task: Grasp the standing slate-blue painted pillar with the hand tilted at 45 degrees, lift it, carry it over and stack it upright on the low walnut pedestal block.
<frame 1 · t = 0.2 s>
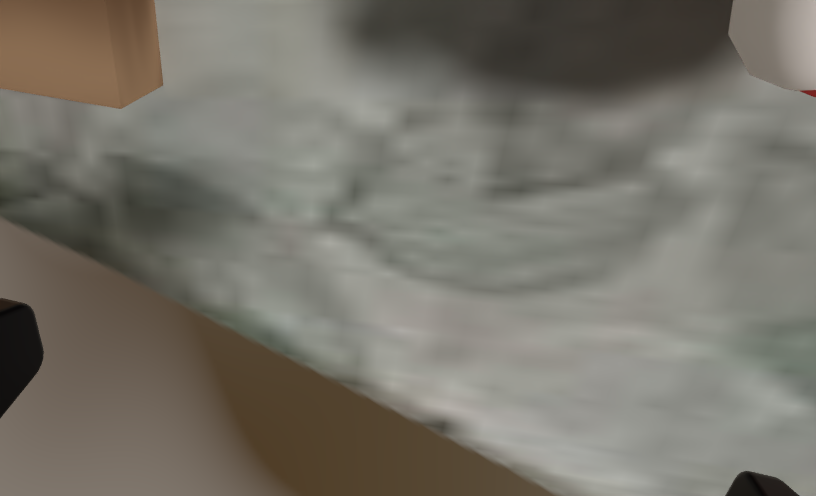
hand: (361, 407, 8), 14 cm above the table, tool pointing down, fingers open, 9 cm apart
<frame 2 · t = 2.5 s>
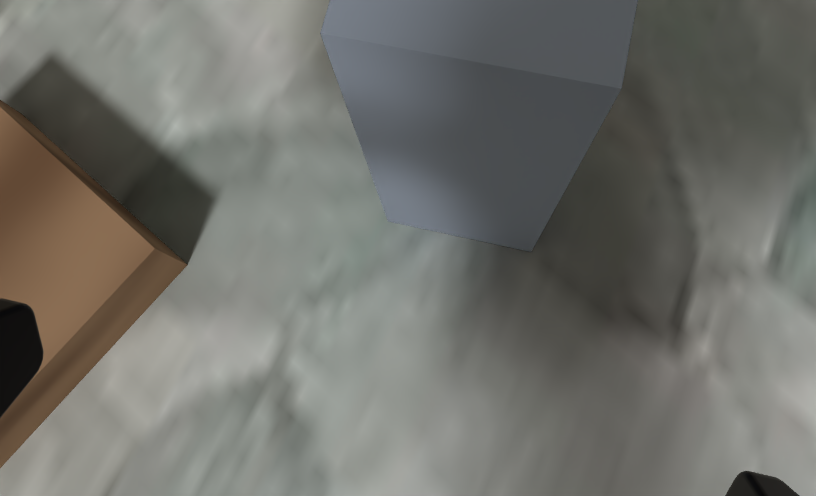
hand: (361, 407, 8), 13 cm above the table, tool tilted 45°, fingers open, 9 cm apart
pedestal: (18, 282, 23), on the table
pillar: (474, 168, 23), on the table
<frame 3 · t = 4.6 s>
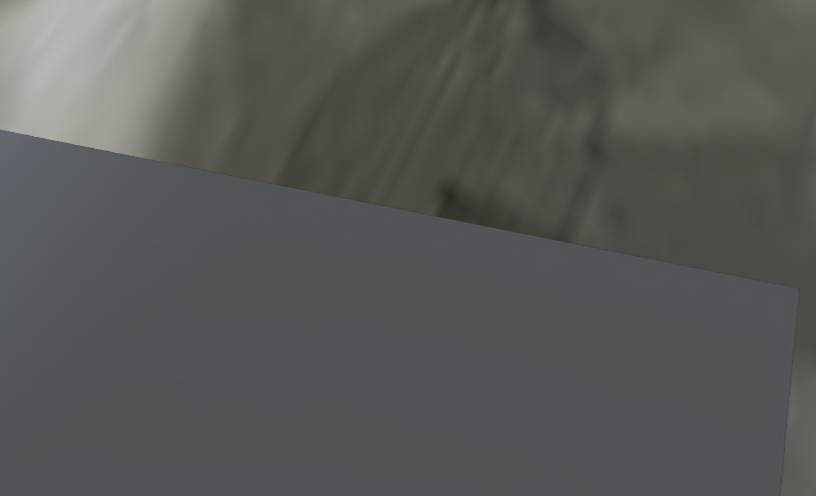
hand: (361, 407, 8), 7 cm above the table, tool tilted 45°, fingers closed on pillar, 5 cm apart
pillar: (387, 472, 14), on the table, touching gripper
when the fingers open (10 cm above the table, at t = 8.1 s): pillar drops 1 cm, point 3 cm above the table.
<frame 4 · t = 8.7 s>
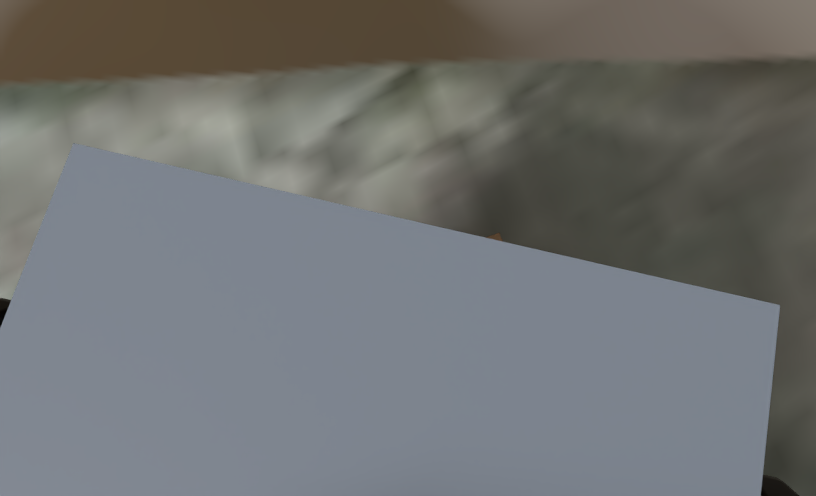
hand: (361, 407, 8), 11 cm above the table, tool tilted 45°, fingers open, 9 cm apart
pillar: (389, 463, 16), point 3 cm above the table
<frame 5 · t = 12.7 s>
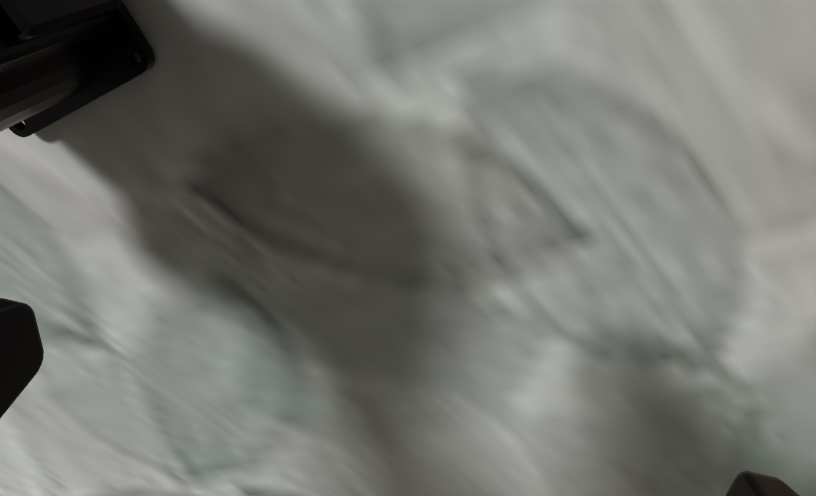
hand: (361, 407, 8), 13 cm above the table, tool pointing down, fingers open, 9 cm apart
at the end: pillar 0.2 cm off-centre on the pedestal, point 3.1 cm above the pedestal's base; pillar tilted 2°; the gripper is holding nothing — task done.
